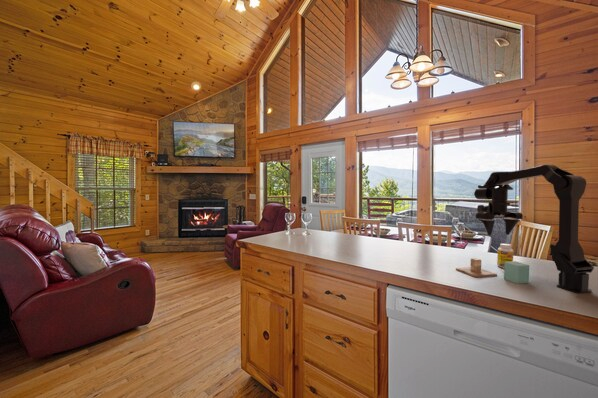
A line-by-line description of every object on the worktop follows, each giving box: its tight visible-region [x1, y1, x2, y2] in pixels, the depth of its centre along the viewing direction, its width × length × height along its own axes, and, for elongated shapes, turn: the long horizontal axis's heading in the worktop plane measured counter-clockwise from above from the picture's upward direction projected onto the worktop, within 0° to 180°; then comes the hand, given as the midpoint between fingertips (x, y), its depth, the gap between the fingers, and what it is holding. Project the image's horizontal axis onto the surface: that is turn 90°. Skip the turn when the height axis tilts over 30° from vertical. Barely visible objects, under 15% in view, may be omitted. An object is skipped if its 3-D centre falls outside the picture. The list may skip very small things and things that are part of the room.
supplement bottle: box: [496, 243, 515, 269], centre depth 117 cm, size 6×6×10 cm
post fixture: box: [455, 257, 498, 278], centre depth 109 cm, size 10×10×6 cm
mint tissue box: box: [503, 260, 530, 285], centre depth 100 cm, size 5×5×7 cm
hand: (498, 234), depth 117 cm, fingers open, 9 cm apart
